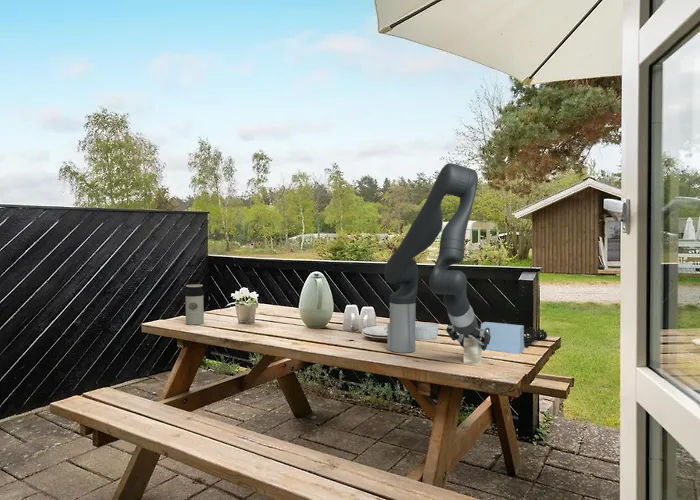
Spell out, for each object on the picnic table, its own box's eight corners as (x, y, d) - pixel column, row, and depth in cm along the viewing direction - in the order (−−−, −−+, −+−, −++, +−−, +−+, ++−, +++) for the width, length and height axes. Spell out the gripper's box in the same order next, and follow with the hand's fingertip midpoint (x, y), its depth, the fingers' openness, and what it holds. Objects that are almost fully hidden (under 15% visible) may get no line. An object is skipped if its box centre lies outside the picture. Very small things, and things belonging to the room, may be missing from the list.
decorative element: (536, 338, 201) (536, 323, 201) (549, 339, 198) (549, 325, 198) (512, 348, 185) (512, 332, 185) (526, 350, 181) (526, 334, 181)
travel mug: (190, 321, 238) (190, 284, 237) (206, 322, 236) (206, 284, 236) (182, 325, 230) (182, 286, 229) (199, 325, 229) (198, 286, 228)
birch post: (463, 363, 163) (463, 329, 162) (468, 360, 167) (468, 327, 166) (477, 365, 160) (477, 331, 160) (481, 362, 164) (481, 328, 164)
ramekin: (405, 337, 202) (405, 324, 201) (421, 333, 210) (421, 321, 210) (428, 342, 194) (428, 328, 194) (444, 337, 202) (444, 324, 202)
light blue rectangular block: (479, 348, 182) (479, 324, 182) (485, 345, 188) (485, 321, 188) (519, 354, 175) (519, 328, 174) (524, 349, 180) (524, 325, 180)
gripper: (487, 308, 153) (498, 340, 163) (443, 305, 160) (456, 335, 171) (482, 328, 148) (493, 359, 159) (436, 324, 156) (450, 353, 167)
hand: (474, 346), depth 165 cm, fingers open, 6 cm apart
